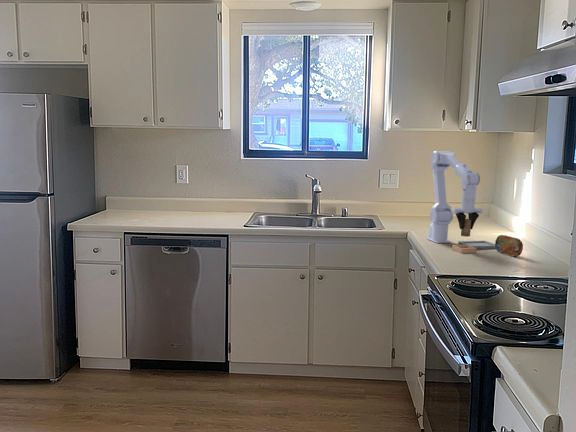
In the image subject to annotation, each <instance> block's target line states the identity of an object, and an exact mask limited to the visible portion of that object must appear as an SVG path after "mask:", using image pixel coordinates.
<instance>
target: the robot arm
mask: <svg viewBox="0 0 576 432" xmlns="http://www.w3.org/2000/svg"><path fill="white" fill-rule="evenodd" d="M430 163H431V164H430V166H431V169H432V175H433V177H432V178H433V190H434V200H435V204H434V205H433V206H432V207H431V208H430V213H429V218H430V221H431V223H430V225H429V227H428V228H429V230H428V237H427V238H426V240H428V241H432V242H434V243H437V244H438V243H439V244H440V243H441V244H442V243H444V244H445V243H451V242H452V241H450V240H448V236H449V235H448V234H449V225H450V224H451V223H452V221H453V219H454V214H455V216H456V218H457V221H458V225H459V229H460V230H461V229H464V222H465V219H467V214H468V219H471V230H473V228H474V226H475V223H476V221H477V219H479V217H480V214H483V213H484V209H483V208H476V207H475V205H476V198H477V197H476V196H477V186H478V185H479V184H480V182H481V176H480V174H479V172H475V171H473V170H472V169H470V168H469V167H468V166H467V164H466V163H460V161H459V160H458V159H457V157H456V154H455V153H454V152H453V150H452V151H451V150H449V151H448V150H447V151H442V150H441V151H440V150H434V151H432V154H431V156H430ZM450 167H451V168H453V169H454V174H456V176H457V177H459V179H460V183H461V188H462V194H461V206H460V208H459V207H458V208H452V206H451V205H449V204H448V202H447V193H446V181H445V180H446V178H445V171H446V170H447V169H449V168H450Z"/></svg>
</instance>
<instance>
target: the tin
mask: <svg viewBox="0 0 576 432" xmlns="http://www.w3.org/2000/svg"><path fill="white" fill-rule="evenodd" d="M494 241H495V243H494V244H495V247H496V249H495V250H496V251H497V252H498V253H499V254H502V255H506V256H509V257H519V256H520V255H522V253H523V249H524V244H523V242H522V240H521V239H520V238H518V237H514V236H509V235H503V234H500V235H498V236H497V237H496V239H495V240H494Z"/></svg>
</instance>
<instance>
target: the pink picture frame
mask: <svg viewBox="0 0 576 432" xmlns="http://www.w3.org/2000/svg"><path fill="white" fill-rule="evenodd" d="M451 250H452V251H455V252H458V253H459V254H470V253H471V254H472V253H473V254H475V253H476V252H477V249H476V248H474V247H471V246H469V245H458V244H452V245H451Z"/></svg>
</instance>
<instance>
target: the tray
mask: <svg viewBox="0 0 576 432" xmlns="http://www.w3.org/2000/svg"><path fill="white" fill-rule="evenodd" d="M457 245H469V246H471V247H474V248H476V250H492V249H493V250H496V247H495V243H493V242H490V241H487V240H460V241H459V240H458V242H457Z"/></svg>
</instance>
